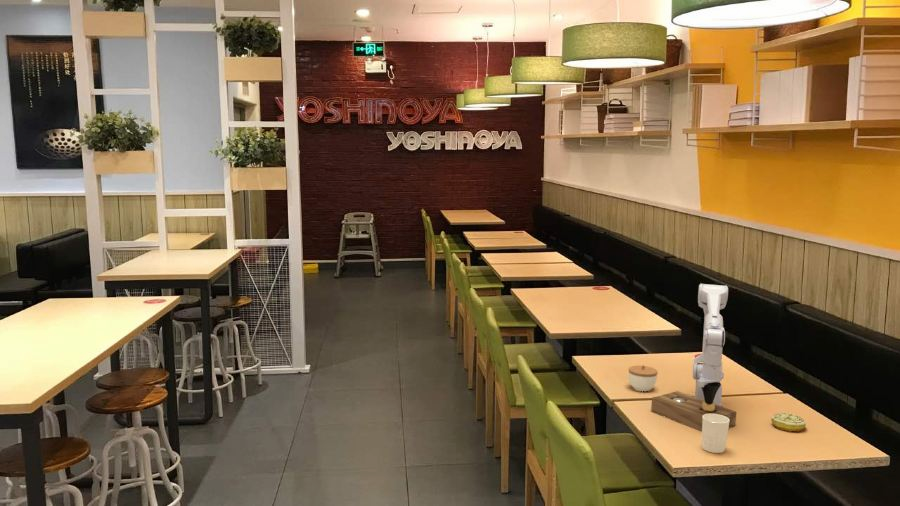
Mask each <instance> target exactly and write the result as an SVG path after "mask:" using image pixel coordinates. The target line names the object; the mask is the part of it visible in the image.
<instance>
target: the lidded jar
mask: <svg viewBox="0 0 900 506" xmlns="http://www.w3.org/2000/svg"><path fill="white" fill-rule="evenodd" d="M658 374H659V373H658V370H657V369H656V368H654V367H651V366H646V365H645V364H642V365H633V366H629V368H628V380H629V384H630V385H631V388H632V387H633V390H634V391H637V392H641V391H642V392H643V391H648V392H650V391H649V390H652V389H653V388H654V386H655V385H656V382H657V379H658ZM642 392H641V393H642ZM643 393H644V392H643Z"/></svg>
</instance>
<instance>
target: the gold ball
mask: <svg viewBox="0 0 900 506" xmlns="http://www.w3.org/2000/svg"><path fill="white" fill-rule="evenodd" d="M702 411H705V412H708V413H713V412H714V411H715V403H714V402H713V403H712V404H708V403H705V401H703V403H702Z"/></svg>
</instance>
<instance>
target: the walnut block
mask: <svg viewBox="0 0 900 506" xmlns="http://www.w3.org/2000/svg"><path fill="white" fill-rule="evenodd" d="M673 398H683V399H684V400H685V401H684V402H678V401H675V400H673ZM703 401H705V400H702V399H699V398H696V397H695V395H694V396H693V395H690V394H688V393H685V392H682V391H679V390H676V391H673V392H668V393H665V394H661V395H657V396H653V397H651V407H650V408H651V410H650V412H652V413H654V414H657V415H659V416H662V417H664V416H665V418H667V419H669V418H670V419H669V420H672V421H674V420H675V422H678V423H680V424H682V425H685V426H688V427H690V428H693V429H695V430H697V431H700V432H702V416H703V415H705V414H719V415H723V416H725V417H727V418H729V420H730V421H729V428H728V429H730V428H732V427H733V428H734V427H735V426H736V422H737V411H736V410H732V409H730V408H728V407H725V406H719V405H716V404H715V411H714V412H713V413H708V412H705V411H702V403H703Z"/></svg>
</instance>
